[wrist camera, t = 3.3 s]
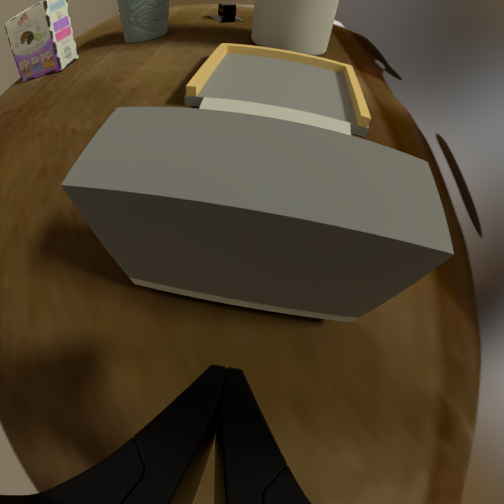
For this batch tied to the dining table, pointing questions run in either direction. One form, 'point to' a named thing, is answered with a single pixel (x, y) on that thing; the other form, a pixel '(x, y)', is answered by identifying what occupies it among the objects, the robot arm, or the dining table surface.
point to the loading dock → (280, 87)
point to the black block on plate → (226, 13)
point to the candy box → (42, 39)
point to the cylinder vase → (294, 24)
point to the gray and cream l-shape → (259, 210)
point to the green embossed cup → (143, 19)
